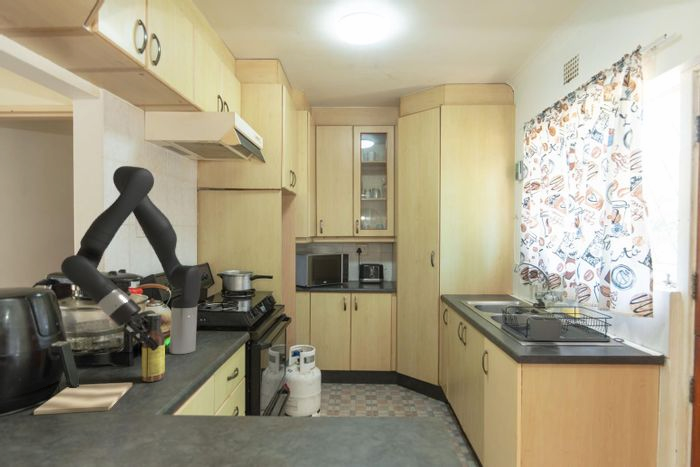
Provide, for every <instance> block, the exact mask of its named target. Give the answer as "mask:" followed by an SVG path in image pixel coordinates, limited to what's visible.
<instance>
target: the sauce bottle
mask: <svg viewBox="0 0 700 467" xmlns="http://www.w3.org/2000/svg"><path fill="white" fill-rule="evenodd" d="M146 315H147V316H146V319H147V329H148V331H147V332H148V334H149V335H150V337H152V338H153V339H154V340H155V341H156V342H157V343H158V344H159V347H158V348H157V349H155V350H154V351H153V350H152V349H150V348H149V347H148V346H147V345H146V344H145V342H144V343H142V346H141V376H142V378H141V379H142V382H146V383H152V382H153V383H154V382H157V381H160V380H162V379H164V376H165V371H166V369H165V368H166V366H165V364H166V363H165V360H166V357H165V356H166V353H165V350H166V348H165V347H166V340H165V339H166V338H165V336H164V334H163V331H162V330H163V329H162V326H161V319H162V314H161V313H159V312H158V313H156V312H154V313H148V314H146ZM164 338H165V339H164Z"/></svg>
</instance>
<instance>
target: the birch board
mask: <svg viewBox="0 0 700 467" xmlns="http://www.w3.org/2000/svg"><path fill="white" fill-rule="evenodd" d="M78 385H79V387H77V388H69V387H68V386H67V387H66V388H64V389H63V390H61V391H60V392H58V393H57V394H55V395H54V396H52V397H51V398H50V399H48V400H47V401H45V402H44V403H42V404H41V405H40V406H39V407H37V408H36V409H34V410H33V416H35V415H51V414H54V415H55V414H67V413H84V412H85V413H89V412H103V411H104V412H105V411H109V410H110V409H112V407H113V406H114V405H115V404H116V403H117V402H118V401H119V400H120V399H121V398H122V397H123V396H124V395H125V394H126V393H127V392H128V391H129V390H130V389H131V388H132V387H133V382H116V383H114V382H113V383H94V384H93V383H90V384H88V383H87V384H78Z"/></svg>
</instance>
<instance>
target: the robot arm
mask: <svg viewBox="0 0 700 467" xmlns="http://www.w3.org/2000/svg"><path fill="white" fill-rule="evenodd" d="M112 181H113V184H114V187H115V189H116V190H117V191H118V193H119V195H118V197H117V198H116V199H115V201H114V202H113V203H111V205H109V207H107V208H106V209H105V210H103V211H102V212H101V213H100V214H99V215H98V216H97V217H96V218H95V219H94V220H93V221H92V223H91V224H90V226H89V227H88V228H87V230H86V231H85V233H84V235H83V236H82V237H81V239H80V247H79V249H78V251H77V252H76V254H74V255H70V256H67V257H66V258H65V259H63V261H62V262H61V266H60V269H61V273H62V274H63V276H64V277H65V278H66V279H68V280H69V281H70V282H71V283H72V284H74V285H75V286H77V287H78V288H79V289H80V290H82V291H83V292H84V293H85V294H86V295H87V296H88V297H89V299H90V300H92V301H93V302H94V303H95V304H96V305H97V306H98V307H99V308H100V310H101V311H102V312H104V314H106V316H108V317H109V319H110V320H112V321H113V322H114V323H115V324H116V325H117V326H118V327H123V326H124V325H125V326H126V327H125V328H124V329H123V332H125V333H126V334H128V335H129V336H130V337H131V338H132V339H133V340H135V341H136V342H137V343H139V344H140V343H142V344H143V343H144V342H145V344H146V345H147V346H148V347H149V348H150V349H152V350H153V351H154V350H155V349H157V348H158V347H159V344H158V343H157V342H156V341H155V340H154V339H153V338H152V337H150V335H149V334H148V332H147V331H148V329H147V319H146V316H147V315H148V314H145V315H143V316H142V315H141V314H140V312H141V311H142V307H140V305H139V304H137V303H136V302H135V300H134V299H133V298H131V297H130V296H129V294H127V293H126V292H125V291H123V290H122V289H121V288H120V287H118V285H116V284H115V283H114V282H113V281H112V280H111V279H110V278H108V277H107V276H105V275H104V274H102V272H101V271H99V270H98V268H99V265H100V263H101V260H102V258H103V256H104V254H105V251H106V250H107V248H108V247H109V246H110V244H111V243H112V241H113V239H114V237H115V236H116V234H117V233H118V231H119V230H120V228H121V227H122V225H123V224H124V223H125V221H126V220H127V219H128V218H129V217H130V215H131V214H133V215H134V217H135V219H136V221H137V223H138V225H139V226H140V227H141V228H140V229H141V230H142V232H143V234H144V235H145V238H146V240H147V241H148V243H149V245H150V246H151V248H152V249H153V251H154V254H155V255H156V257H157V259H158V261H159V263H160V265H161V267H162V270H163V273H164V275H165V277H166V279H167V281H168V284H169V285H170V286H171V287H172V288H175V289H180V290H182V292H181V295H180V296H179V297H178V296H177V297H176V298H173V299H172V300H171V310H170V311H171V312H170V330H169V332H170V334H169V353H170V354H173V355H184V354H185V355H186V354H189V353H194V352H195V351H196V346H197V344H196V340H197V325H198V324H197V322H198V321H197V320H198V318H197V317H198V303H199V300H200V296H201V287H202V286H201V285H202V284H201V283H202V272H201V270H200V268H199V266H196V265H183V264H182V263H181V262H180V260H179V259H178V256H177V254H176V249H177V242H178V236H177V234H176V231H175V229H174V227H173V225H172V223H171V221H170V219H169V218H168V217H167V216H166V214H164V213H163V212H162V211H161V210H160V208H158V207H157V205H155V204H154V203H153V201H152V200H151V198H150V197H149V195H148V194H149V193H150V192H151V190H152V189H153V187H154V185H155V178H154V175H153V173H152V172H151V171H150V170H148V169H147V168H144V167H141V166H131V165H122V166H119V167H118V168H116V169H115V171H114V172H113V176H112ZM164 339H165V341H166V340H167V339H166V338H165V337H164Z"/></svg>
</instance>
